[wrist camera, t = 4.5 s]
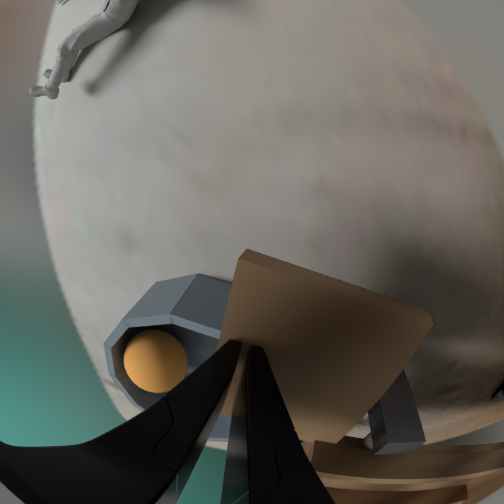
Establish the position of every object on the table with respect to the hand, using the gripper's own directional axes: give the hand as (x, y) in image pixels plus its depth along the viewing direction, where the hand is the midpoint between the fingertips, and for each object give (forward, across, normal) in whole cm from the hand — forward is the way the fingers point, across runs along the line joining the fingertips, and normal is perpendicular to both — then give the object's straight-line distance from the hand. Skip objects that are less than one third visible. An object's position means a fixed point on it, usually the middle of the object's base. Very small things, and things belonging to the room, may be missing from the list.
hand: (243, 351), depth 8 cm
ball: (+4, +5, +7) cm, 9 cm away
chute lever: (0, -10, +4) cm, 11 cm away
